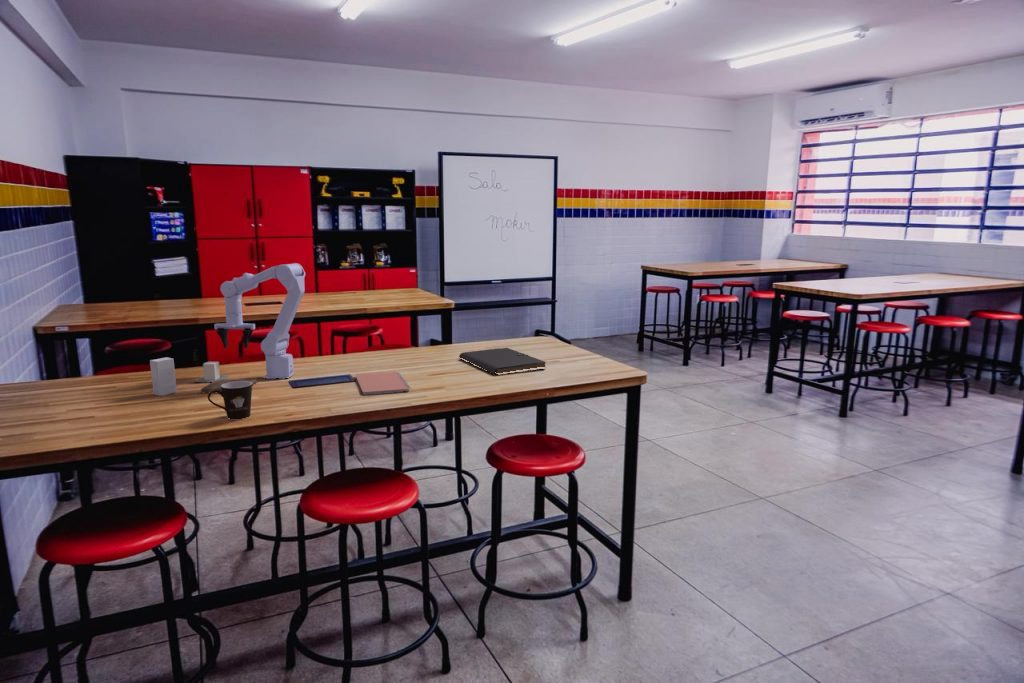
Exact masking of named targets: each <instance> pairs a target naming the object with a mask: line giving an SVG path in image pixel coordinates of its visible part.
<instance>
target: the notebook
mask: <svg viewBox="0 0 1024 683" xmlns="http://www.w3.org/2000/svg"><path fill="white" fill-rule="evenodd" d="M355 379H356V380H357V383H358V385H359V387H360V390H361V392H362V394H363V395H364V396H368V395H381V394H383V393H384V394H393V393H394V392H397V393H404V392H403V391H408V392H409V391H410V389H412V388H411V386H410V385H409V384H408V382H407V381H406V379H405V378H404V376H402V374H401V373H400V372H399V371H384V372H383V371H382V372H370V373H369V372H368V373H367V372H366V373H356V374H355ZM403 380H404V381H403ZM408 387H409V388H410V389H409V388H408ZM384 394H383V395H384Z"/></svg>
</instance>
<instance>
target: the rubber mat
mask: <svg viewBox="0 0 1024 683" xmlns="http://www.w3.org/2000/svg"><path fill="white" fill-rule="evenodd" d="M229 376H230V375H220V378H218V379H222V380H224V379H225V380H227V379H228V378H227V377H229ZM226 378H227V379H226ZM229 378H230V377H229ZM216 380H217V379H216ZM214 381H215V380H204V376H202V377H200V378H198V379H197V380H195V381H194V383H195V382H214Z"/></svg>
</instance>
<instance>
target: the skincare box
mask: <svg viewBox="0 0 1024 683" xmlns="http://www.w3.org/2000/svg"><path fill="white" fill-rule="evenodd" d="M149 366H150V373H151V374H150V375H151V384H152V392H153V395H154V394H155V396H159V397H163V396H165V395H171V394H175V393H177V392H178V391H177V390H178V388H177V379H176V371H175V370H176V369H175V362H174V358H171V357H167V356H166V357H161V358H157V359H150V360H149Z"/></svg>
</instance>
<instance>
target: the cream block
mask: <svg viewBox="0 0 1024 683" xmlns="http://www.w3.org/2000/svg"><path fill="white" fill-rule="evenodd" d="M202 367H203V377H204V380H216V379H218V378H220V376H221V374H220V372H221V371H220V370H221V369H220V361H207V362H206V361H205V362H204V363H203V364H202Z"/></svg>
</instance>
